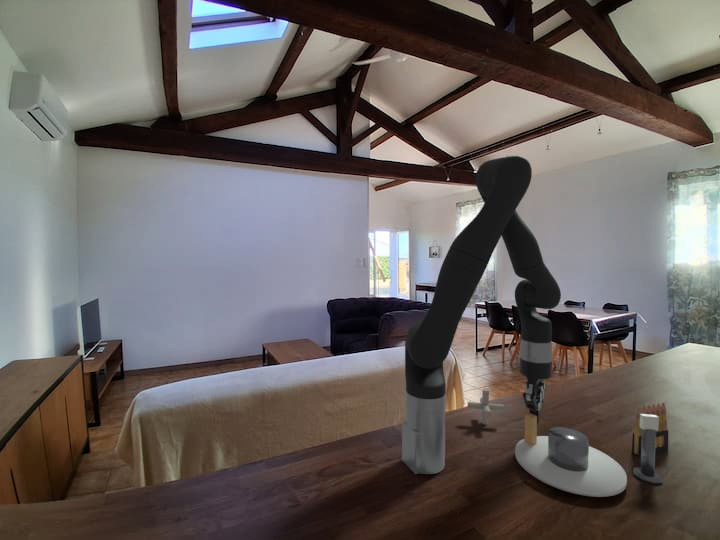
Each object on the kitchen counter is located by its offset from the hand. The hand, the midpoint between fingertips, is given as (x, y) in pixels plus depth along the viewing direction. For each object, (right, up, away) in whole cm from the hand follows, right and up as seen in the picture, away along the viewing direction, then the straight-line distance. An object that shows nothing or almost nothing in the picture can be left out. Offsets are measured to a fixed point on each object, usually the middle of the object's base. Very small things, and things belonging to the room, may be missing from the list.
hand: (534, 422), depth 91 cm
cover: (+2, -4, -11) cm, 12 cm away
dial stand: (+19, -7, -13) cm, 24 cm away
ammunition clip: (+28, -7, -2) cm, 29 cm away
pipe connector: (-9, -6, +12) cm, 16 cm away
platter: (+2, -5, -10) cm, 12 cm away
